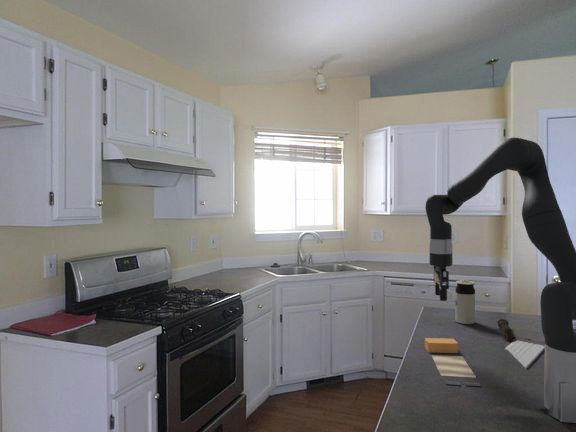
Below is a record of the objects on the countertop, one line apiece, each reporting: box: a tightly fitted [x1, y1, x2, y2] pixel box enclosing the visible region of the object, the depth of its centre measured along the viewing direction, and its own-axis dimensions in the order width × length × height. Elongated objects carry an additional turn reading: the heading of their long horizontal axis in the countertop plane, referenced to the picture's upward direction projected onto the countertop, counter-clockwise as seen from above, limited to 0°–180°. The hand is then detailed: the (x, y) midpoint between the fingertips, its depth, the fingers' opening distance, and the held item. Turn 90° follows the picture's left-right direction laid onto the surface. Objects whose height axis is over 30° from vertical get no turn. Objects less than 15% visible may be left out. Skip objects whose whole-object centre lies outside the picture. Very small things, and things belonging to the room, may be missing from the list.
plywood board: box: [431, 354, 477, 379], centre depth 132 cm, size 17×10×2 cm, turn 170°
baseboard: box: [504, 336, 545, 369], centre depth 144 cm, size 31×3×12 cm
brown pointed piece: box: [497, 318, 512, 342], centre depth 167 cm, size 19×4×5 cm, turn 156°
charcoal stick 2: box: [464, 381, 482, 388], centre depth 118 cm, size 2×4×2 cm
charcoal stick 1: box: [444, 380, 462, 387], centre depth 119 cm, size 2×4×2 cm
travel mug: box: [454, 279, 476, 325], centre depth 184 cm, size 8×8×18 cm
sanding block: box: [424, 337, 459, 354], centre depth 146 cm, size 5×10×5 cm, turn 85°
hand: (440, 297), depth 146 cm, fingers open, 8 cm apart
